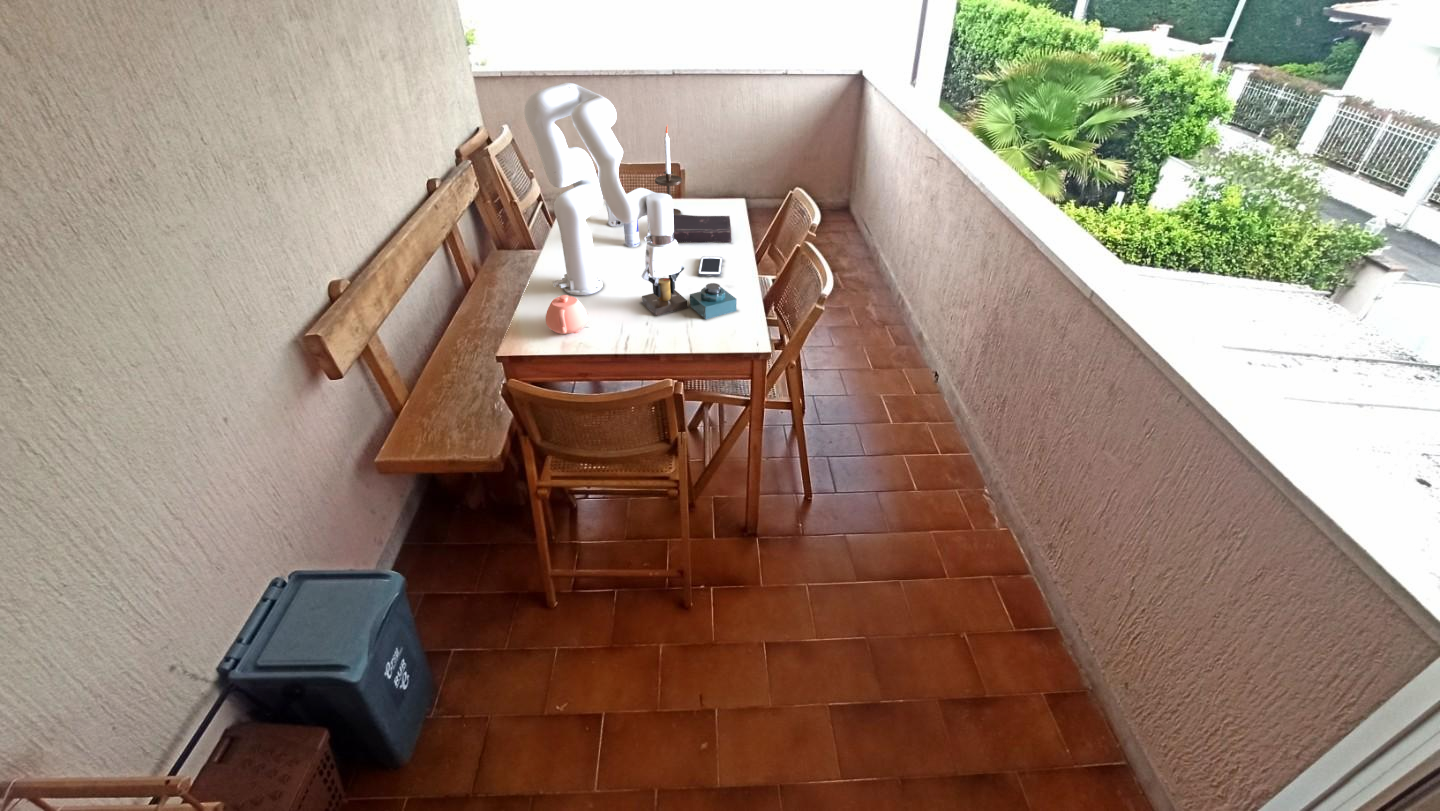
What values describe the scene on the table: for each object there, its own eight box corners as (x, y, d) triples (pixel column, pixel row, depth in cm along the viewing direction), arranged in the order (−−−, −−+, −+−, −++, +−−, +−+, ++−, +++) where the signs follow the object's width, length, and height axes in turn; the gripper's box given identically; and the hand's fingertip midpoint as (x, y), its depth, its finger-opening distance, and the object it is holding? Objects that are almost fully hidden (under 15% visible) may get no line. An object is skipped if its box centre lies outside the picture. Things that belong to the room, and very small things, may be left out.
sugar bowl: (591, 317, 195) (587, 286, 189) (585, 340, 184) (581, 308, 178) (551, 317, 195) (546, 287, 189) (542, 341, 184) (536, 309, 178)
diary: (731, 244, 242) (731, 231, 239) (664, 244, 241) (664, 231, 238) (729, 226, 257) (729, 213, 254) (666, 226, 256) (666, 214, 254)
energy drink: (640, 242, 243) (638, 211, 236) (638, 247, 239) (635, 216, 232) (627, 241, 244) (624, 210, 237) (623, 247, 239) (621, 215, 232)
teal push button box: (705, 319, 195) (705, 301, 191) (689, 306, 202) (689, 288, 198) (736, 311, 199) (736, 293, 196) (719, 298, 206) (720, 281, 202)
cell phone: (698, 276, 219) (698, 273, 218) (701, 258, 231) (701, 256, 230) (720, 277, 218) (720, 274, 218) (722, 259, 230) (722, 256, 230)
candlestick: (672, 207, 274) (669, 120, 253) (688, 214, 267) (685, 125, 246) (651, 213, 268) (646, 124, 248) (666, 220, 261) (662, 129, 241)
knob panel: (656, 316, 196) (655, 308, 195) (642, 303, 203) (641, 295, 202) (687, 307, 201) (687, 300, 199) (673, 295, 208) (672, 287, 206)
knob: (661, 302, 198) (660, 283, 194) (655, 297, 201) (654, 278, 197) (673, 299, 200) (672, 280, 196) (667, 294, 203) (666, 275, 199)
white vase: (604, 222, 260) (600, 184, 251) (621, 219, 262) (617, 182, 253) (609, 228, 255) (606, 190, 246) (626, 225, 257) (623, 187, 248)
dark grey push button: (710, 296, 195) (710, 290, 193) (703, 291, 198) (703, 285, 196) (722, 293, 196) (722, 287, 195) (715, 287, 199) (715, 281, 198)
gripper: (640, 247, 183) (645, 305, 193) (692, 236, 190) (693, 292, 200) (629, 238, 188) (634, 295, 199) (680, 227, 195) (682, 283, 206)
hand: (664, 293), depth 199 cm, fingers closed on knob, 4 cm apart
